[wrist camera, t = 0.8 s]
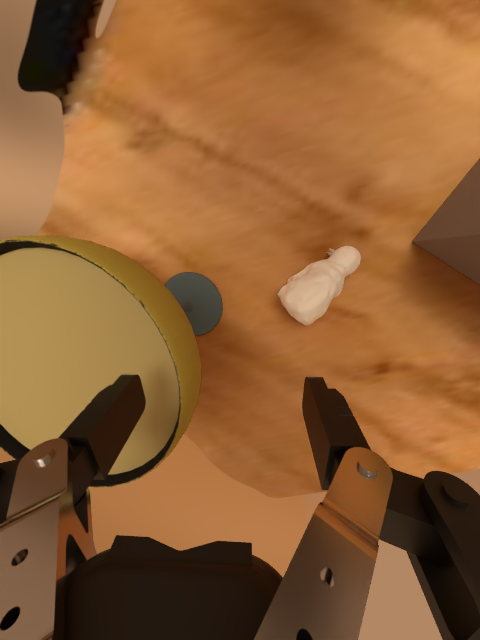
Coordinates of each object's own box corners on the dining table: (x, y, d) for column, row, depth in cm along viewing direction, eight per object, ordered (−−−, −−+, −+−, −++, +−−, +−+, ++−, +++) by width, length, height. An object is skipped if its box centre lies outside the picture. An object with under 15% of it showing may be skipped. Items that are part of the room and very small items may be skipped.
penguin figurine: (274, 297, 28) (357, 223, 25) (271, 292, 36) (333, 236, 33) (308, 336, 28) (393, 267, 26) (297, 321, 36) (361, 268, 34)
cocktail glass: (125, 316, 41) (-83, 399, 17) (170, 225, 36) (-43, 162, 12) (208, 373, 42) (117, 529, 18) (266, 291, 36) (245, 357, 12)
